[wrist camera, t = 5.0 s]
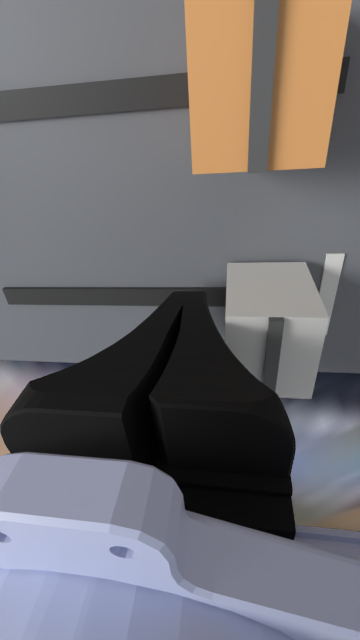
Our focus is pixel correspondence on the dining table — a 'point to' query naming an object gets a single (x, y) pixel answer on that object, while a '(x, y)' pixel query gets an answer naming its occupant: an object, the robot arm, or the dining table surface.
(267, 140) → the block
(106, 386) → the robot arm
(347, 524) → the dining table surface
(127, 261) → the fader board
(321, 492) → the dining table surface
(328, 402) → the dining table surface
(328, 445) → the dining table surface
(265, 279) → the pale fader
